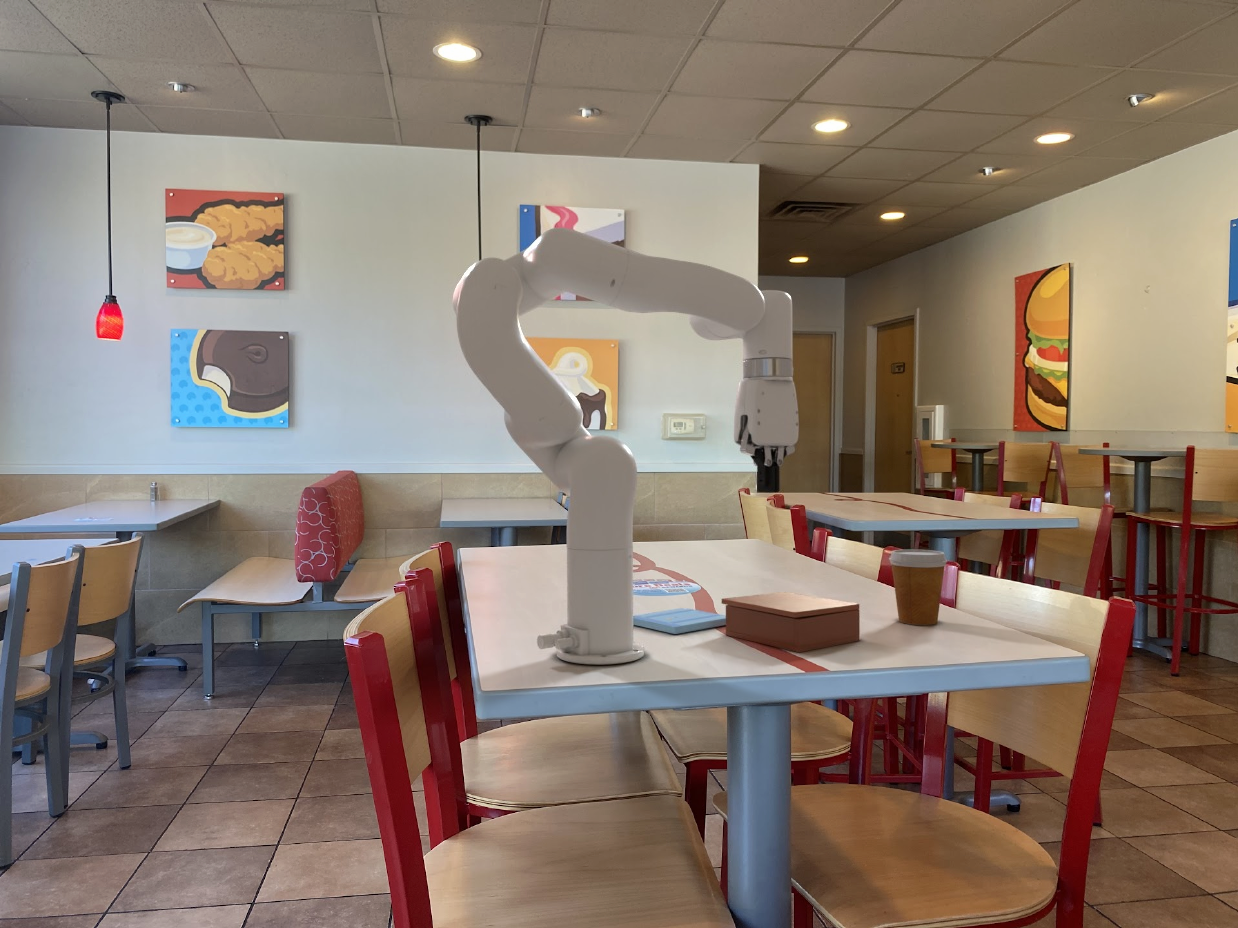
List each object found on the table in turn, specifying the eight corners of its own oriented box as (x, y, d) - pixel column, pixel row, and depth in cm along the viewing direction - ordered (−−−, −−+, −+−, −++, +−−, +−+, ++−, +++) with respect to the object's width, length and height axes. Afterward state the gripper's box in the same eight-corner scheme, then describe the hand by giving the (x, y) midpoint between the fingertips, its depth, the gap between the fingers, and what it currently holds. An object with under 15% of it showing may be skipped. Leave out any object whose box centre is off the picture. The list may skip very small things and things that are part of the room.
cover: (794, 617, 125) (794, 612, 125) (721, 603, 137) (721, 598, 137) (859, 609, 133) (859, 603, 133) (784, 596, 146) (784, 591, 146)
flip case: (799, 652, 125) (799, 619, 125) (725, 634, 138) (725, 605, 138) (859, 640, 133) (859, 609, 133) (785, 625, 146) (784, 596, 146)
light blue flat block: (684, 614, 156) (684, 607, 156) (732, 623, 147) (732, 616, 147) (627, 623, 148) (626, 616, 148) (675, 634, 138) (675, 626, 138)
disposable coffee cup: (918, 615, 154) (917, 548, 154) (959, 624, 146) (959, 553, 146) (877, 619, 150) (876, 550, 150) (917, 629, 142) (917, 556, 142)
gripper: (783, 377, 140) (784, 490, 140) (714, 372, 131) (715, 492, 131) (819, 373, 134) (819, 491, 134) (749, 367, 125) (750, 494, 125)
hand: (768, 491), depth 133 cm, fingers closed
